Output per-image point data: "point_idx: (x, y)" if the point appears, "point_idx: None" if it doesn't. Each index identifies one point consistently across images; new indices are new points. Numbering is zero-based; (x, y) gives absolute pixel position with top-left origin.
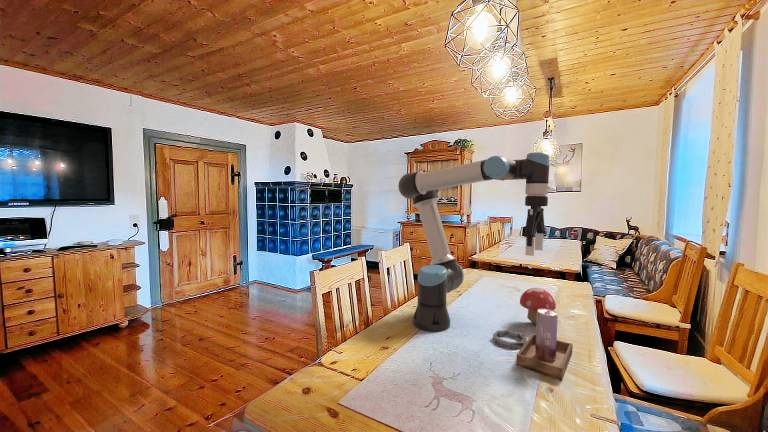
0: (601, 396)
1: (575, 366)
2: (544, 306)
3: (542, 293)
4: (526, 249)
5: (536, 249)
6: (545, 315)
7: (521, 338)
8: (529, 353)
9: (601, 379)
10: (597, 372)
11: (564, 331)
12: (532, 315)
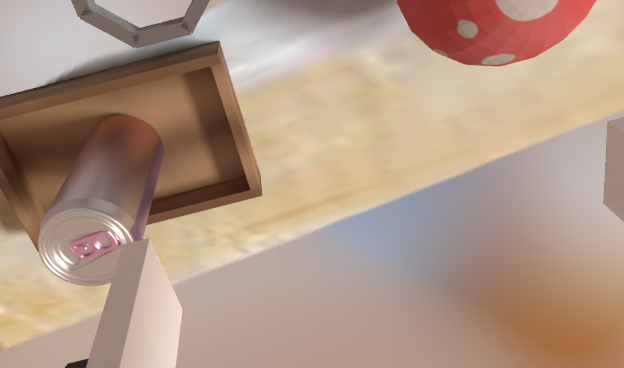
0: (77, 310)
1: None
2: (427, 42)
3: (492, 26)
4: (113, 302)
5: (611, 146)
6: (44, 258)
7: (190, 5)
8: (97, 96)
9: None
10: (200, 263)
11: (453, 73)
12: None
